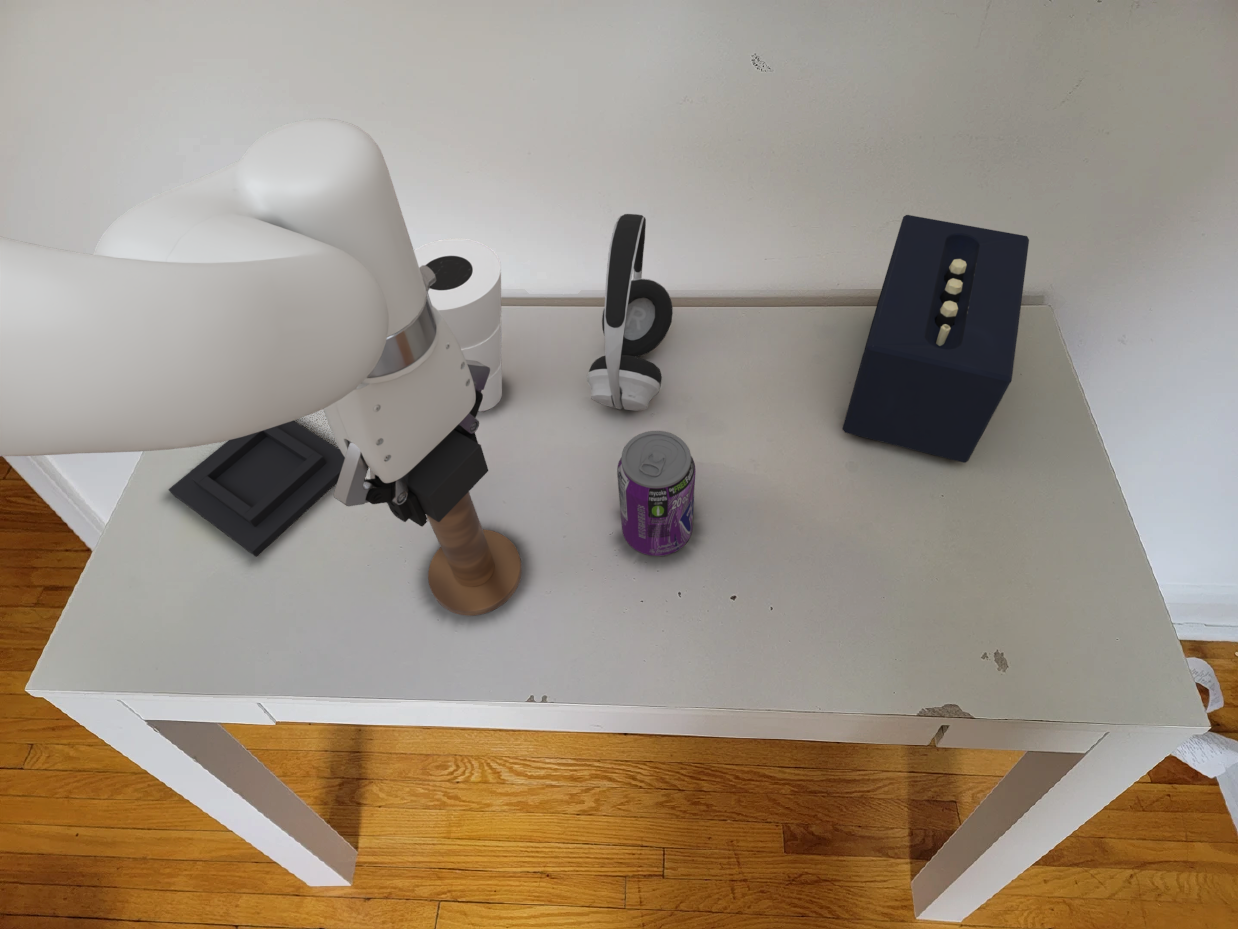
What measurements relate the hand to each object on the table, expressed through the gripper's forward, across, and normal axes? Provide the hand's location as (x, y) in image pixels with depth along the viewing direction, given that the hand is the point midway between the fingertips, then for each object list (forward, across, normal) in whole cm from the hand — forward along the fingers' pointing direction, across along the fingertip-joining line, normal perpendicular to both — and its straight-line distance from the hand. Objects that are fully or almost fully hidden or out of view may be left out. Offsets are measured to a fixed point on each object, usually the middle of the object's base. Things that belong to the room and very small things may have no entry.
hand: (439, 486), depth 63 cm
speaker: (+15, -46, +26) cm, 55 cm away
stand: (+15, 0, 0) cm, 15 cm away
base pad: (+15, +4, -27) cm, 31 cm away
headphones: (+15, -30, -2) cm, 34 cm away
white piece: (+15, -18, -15) cm, 28 cm away
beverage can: (+15, -14, +12) cm, 24 cm away
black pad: (-1, 0, 0) cm, 1 cm away
